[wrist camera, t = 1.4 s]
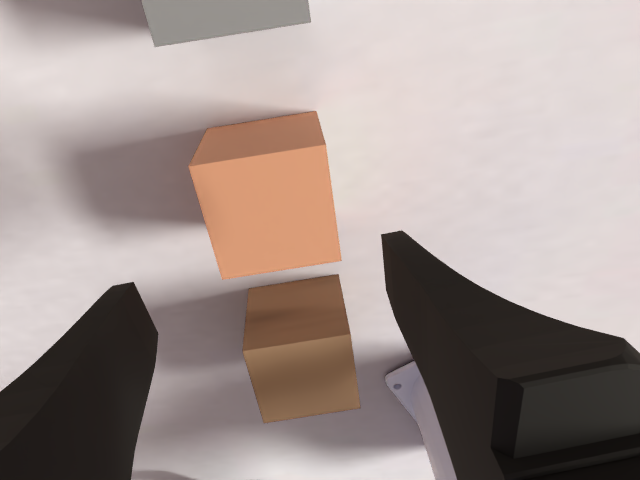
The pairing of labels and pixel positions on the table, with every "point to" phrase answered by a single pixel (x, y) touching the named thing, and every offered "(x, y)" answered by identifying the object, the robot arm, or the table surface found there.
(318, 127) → the terracotta block
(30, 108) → the table surface
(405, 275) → the robot arm
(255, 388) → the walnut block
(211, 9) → the slate grey block
